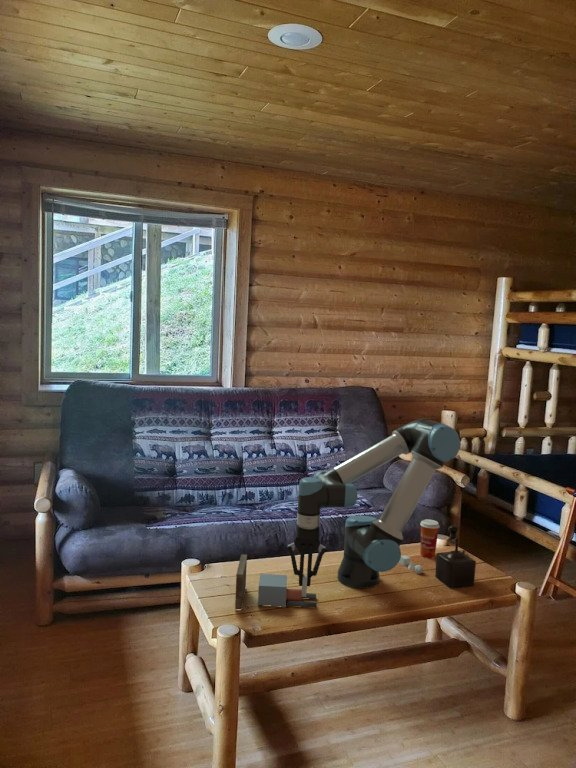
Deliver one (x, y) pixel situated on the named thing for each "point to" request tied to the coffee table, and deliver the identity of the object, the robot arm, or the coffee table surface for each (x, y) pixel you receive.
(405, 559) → the game pieces
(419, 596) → the coffee table surface
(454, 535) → the black joystick
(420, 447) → the robot arm
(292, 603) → the rails
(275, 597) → the block
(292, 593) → the dowel
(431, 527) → the paper cup
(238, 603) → the wall
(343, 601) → the coffee table surface
